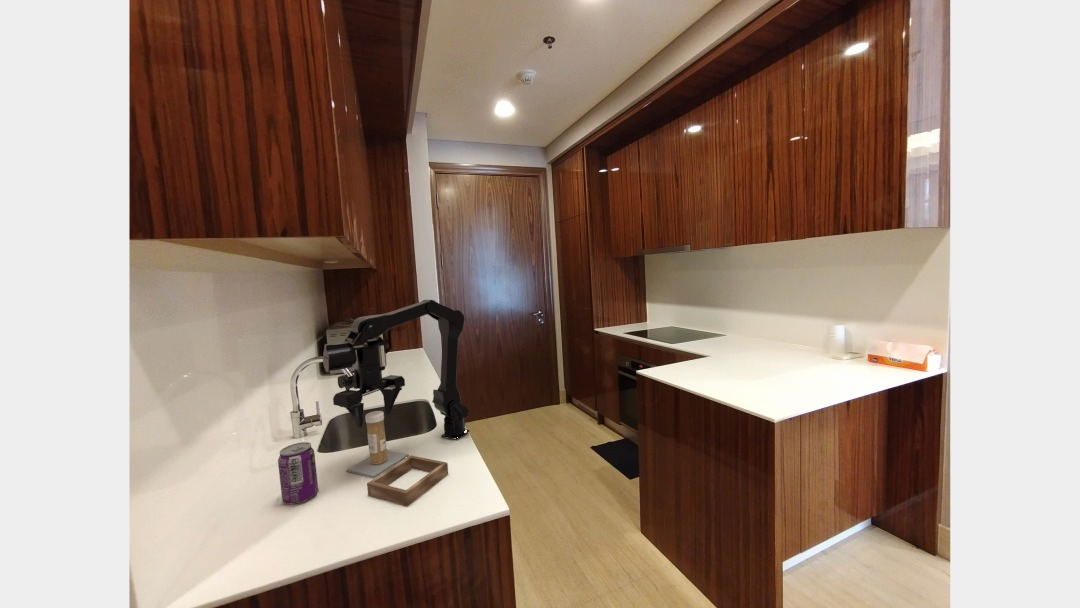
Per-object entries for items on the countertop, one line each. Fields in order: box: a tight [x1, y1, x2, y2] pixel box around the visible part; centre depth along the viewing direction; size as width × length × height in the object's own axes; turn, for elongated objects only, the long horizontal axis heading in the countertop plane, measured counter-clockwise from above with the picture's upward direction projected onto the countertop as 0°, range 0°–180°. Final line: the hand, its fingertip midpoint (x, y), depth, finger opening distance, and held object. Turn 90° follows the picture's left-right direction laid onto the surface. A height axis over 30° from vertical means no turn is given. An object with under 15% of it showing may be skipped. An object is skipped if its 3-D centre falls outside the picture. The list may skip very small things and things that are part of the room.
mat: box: [346, 449, 410, 479], centre depth 101 cm, size 12×10×1 cm
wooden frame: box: [366, 454, 449, 507], centre depth 90 cm, size 14×12×3 cm
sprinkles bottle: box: [365, 410, 388, 465], centre depth 101 cm, size 5×5×13 cm
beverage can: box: [277, 441, 319, 505], centre depth 86 cm, size 7×7×12 cm
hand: (374, 420), depth 100 cm, fingers open, 9 cm apart
